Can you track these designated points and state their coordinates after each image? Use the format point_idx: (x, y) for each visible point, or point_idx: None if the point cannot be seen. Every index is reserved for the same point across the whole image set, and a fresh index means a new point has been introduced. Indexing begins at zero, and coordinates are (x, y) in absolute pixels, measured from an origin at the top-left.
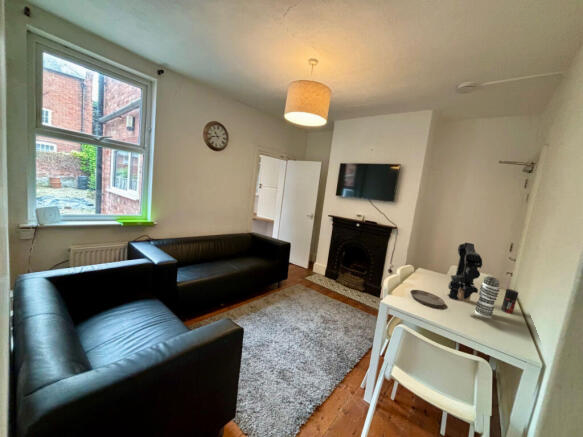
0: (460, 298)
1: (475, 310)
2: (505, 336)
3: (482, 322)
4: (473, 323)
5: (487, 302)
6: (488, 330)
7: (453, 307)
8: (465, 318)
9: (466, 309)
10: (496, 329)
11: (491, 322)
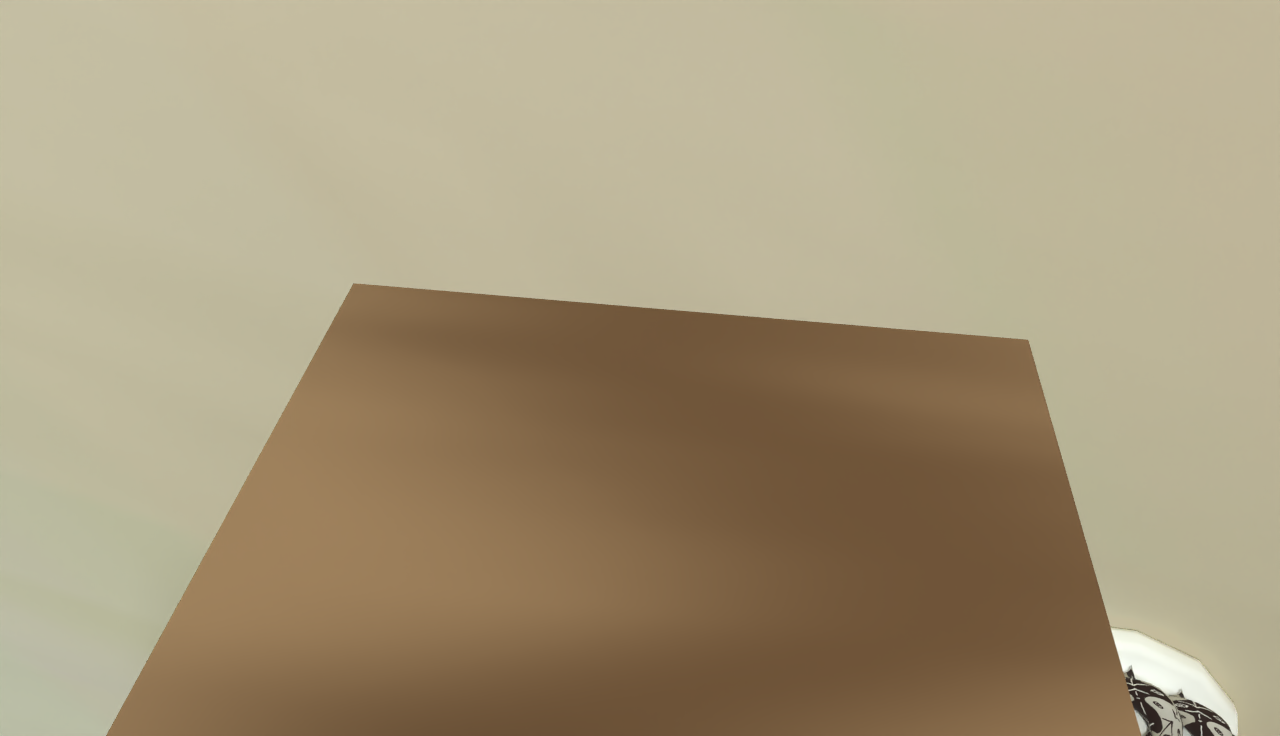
0: (319, 378)
1: (1187, 674)
2: (34, 686)
3: None
4: (140, 272)
5: None
6: (19, 487)
7: (1223, 29)
8: (350, 151)
9: (1213, 465)
10: None
11: None
